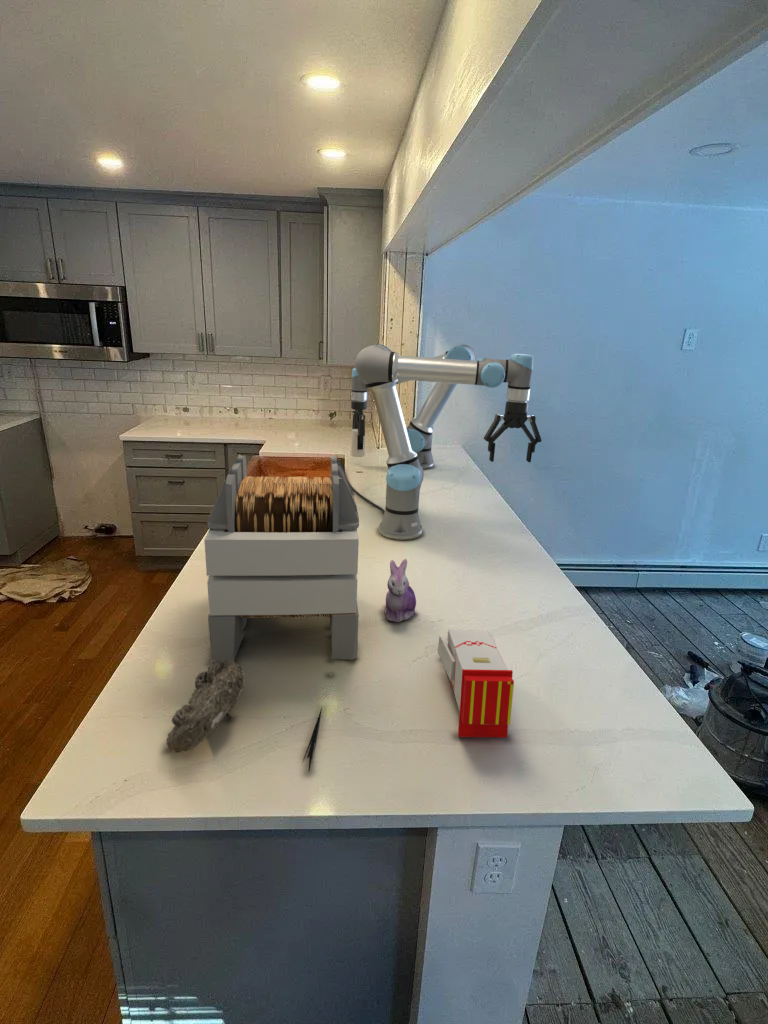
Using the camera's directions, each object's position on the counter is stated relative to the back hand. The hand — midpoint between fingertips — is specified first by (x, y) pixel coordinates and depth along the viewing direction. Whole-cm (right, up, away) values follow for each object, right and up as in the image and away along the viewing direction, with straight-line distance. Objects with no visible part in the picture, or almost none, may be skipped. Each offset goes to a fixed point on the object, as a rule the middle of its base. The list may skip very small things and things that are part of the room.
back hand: (358, 447), depth 280 cm
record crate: (-11, -59, -139) cm, 152 cm away
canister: (0, -4, +1) cm, 4 cm away
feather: (0, -72, -171) cm, 186 cm away
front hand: (+57, -14, -79) cm, 98 cm away
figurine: (+17, -58, -132) cm, 146 cm away
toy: (+31, -69, -161) cm, 178 cm away
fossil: (-20, -71, -172) cm, 187 cm away
